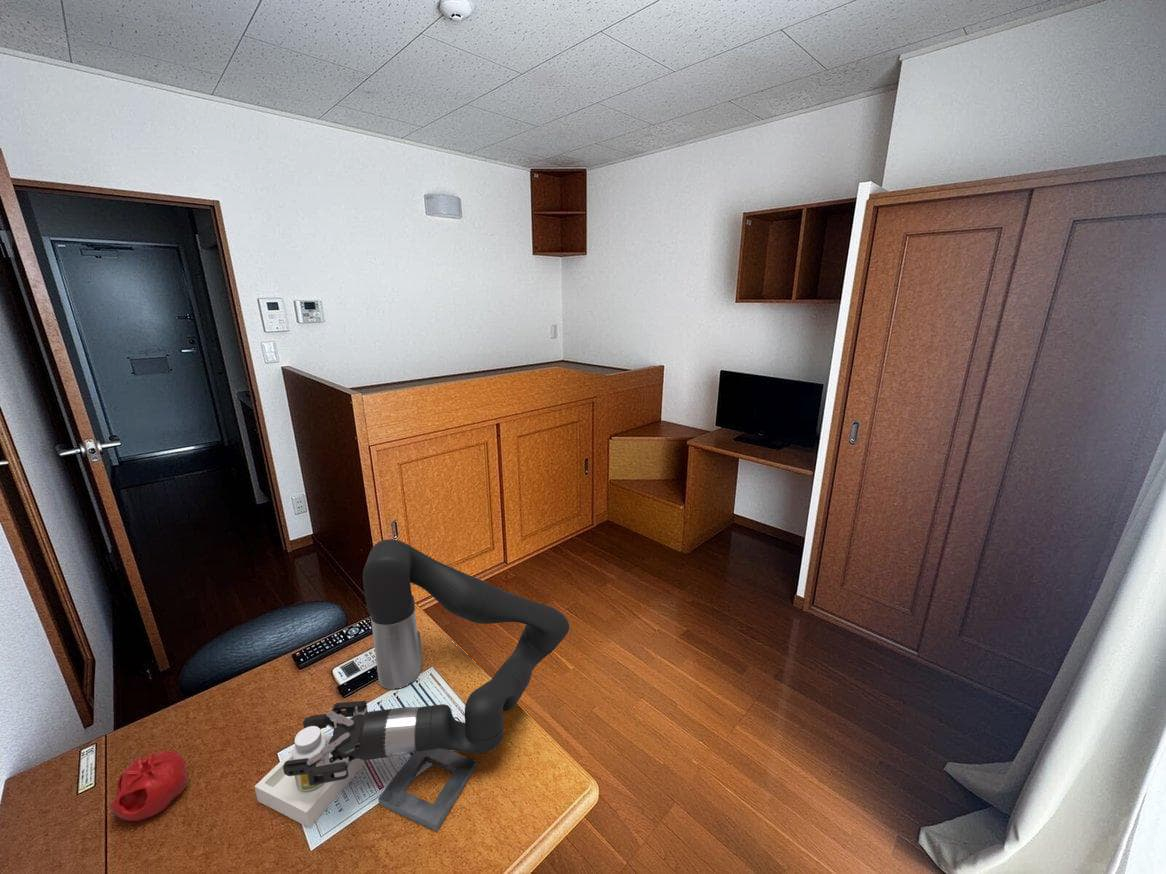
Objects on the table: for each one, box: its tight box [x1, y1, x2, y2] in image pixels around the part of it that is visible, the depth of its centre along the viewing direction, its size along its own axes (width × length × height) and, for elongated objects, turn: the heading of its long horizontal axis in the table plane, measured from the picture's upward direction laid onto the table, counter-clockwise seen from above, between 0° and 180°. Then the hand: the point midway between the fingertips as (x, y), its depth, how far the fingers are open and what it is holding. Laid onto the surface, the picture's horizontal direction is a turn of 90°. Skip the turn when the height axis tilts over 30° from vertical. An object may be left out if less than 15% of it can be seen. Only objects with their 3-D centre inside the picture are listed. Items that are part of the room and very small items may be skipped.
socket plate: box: [377, 748, 477, 832], centre depth 84 cm, size 12×12×2 cm
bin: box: [254, 731, 366, 829], centre depth 84 cm, size 12×12×4 cm
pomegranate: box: [109, 747, 188, 822], centre depth 80 cm, size 10×10×9 cm
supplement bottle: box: [291, 726, 327, 791], centre depth 83 cm, size 5×5×10 cm
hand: (294, 744), depth 82 cm, fingers open, 8 cm apart
